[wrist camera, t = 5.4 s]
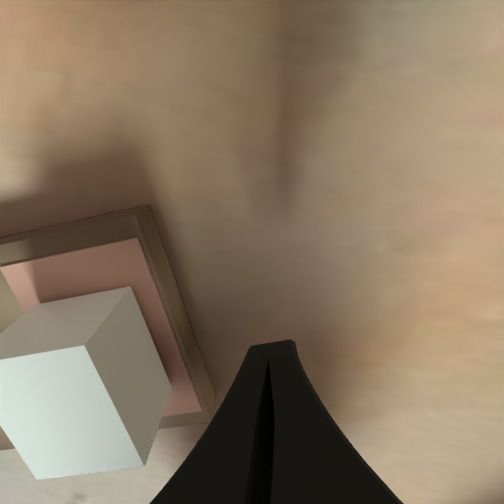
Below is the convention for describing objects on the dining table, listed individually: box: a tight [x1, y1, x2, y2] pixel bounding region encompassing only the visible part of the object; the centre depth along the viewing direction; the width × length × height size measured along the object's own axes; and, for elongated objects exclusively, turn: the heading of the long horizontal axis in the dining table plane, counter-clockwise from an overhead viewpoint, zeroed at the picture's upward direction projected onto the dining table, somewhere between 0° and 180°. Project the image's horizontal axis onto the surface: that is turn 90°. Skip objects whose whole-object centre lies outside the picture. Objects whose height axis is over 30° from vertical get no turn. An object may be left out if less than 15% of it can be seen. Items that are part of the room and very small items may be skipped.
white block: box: [0, 286, 172, 480], centre depth 12 cm, size 5×4×4 cm
